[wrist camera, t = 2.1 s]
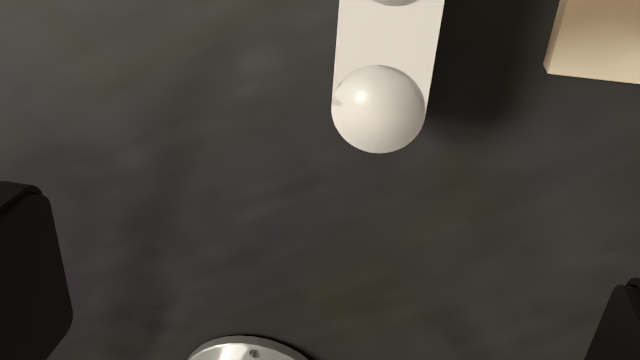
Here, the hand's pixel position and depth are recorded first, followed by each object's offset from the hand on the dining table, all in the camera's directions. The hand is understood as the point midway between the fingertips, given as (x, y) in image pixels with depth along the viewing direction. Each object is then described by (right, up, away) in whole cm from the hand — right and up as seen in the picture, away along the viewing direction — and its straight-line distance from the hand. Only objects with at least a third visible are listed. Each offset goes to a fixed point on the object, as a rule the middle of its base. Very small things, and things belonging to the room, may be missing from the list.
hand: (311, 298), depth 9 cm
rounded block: (+4, +11, +20) cm, 23 cm away
